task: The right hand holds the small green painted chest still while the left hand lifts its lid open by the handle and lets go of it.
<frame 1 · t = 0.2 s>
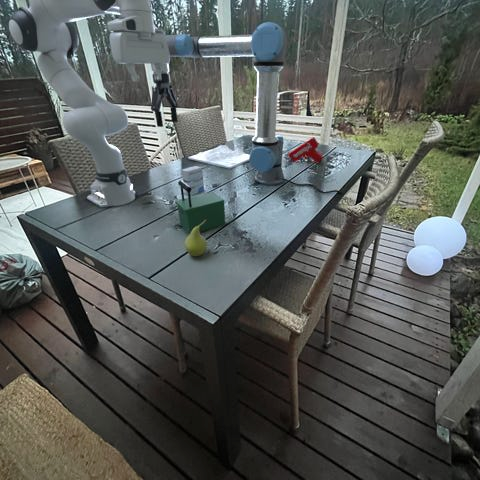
left hand: (147, 80, 86), 48 cm above the table, tool pointing down, fingers open, 8 cm apart
right hand: (167, 124, 132), 28 cm above the table, tool pointing down, fingers open, 13 cm apart
chest: (202, 224, 105), on the table
ink box: (194, 192, 132), on the table
relief map: (222, 158, 179), on the table
fruit: (197, 253, 89), on the table
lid: (198, 192, 98), point 13 cm above the table, hinge at 0.0°
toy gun: (304, 162, 171), on the table
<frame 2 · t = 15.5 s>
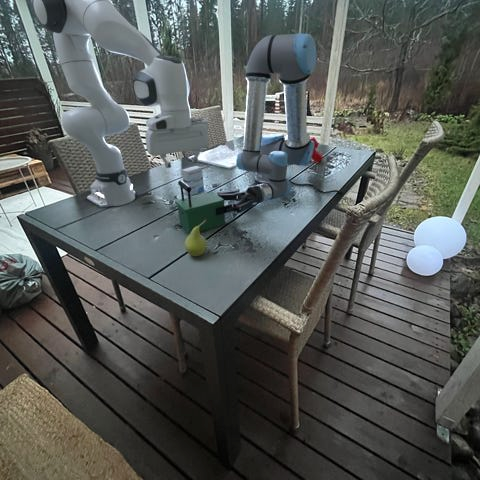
left hand: (182, 164, 90), 24 cm above the table, tool pointing down, fingers open, 8 cm apart
right hand: (210, 206, 103), 6 cm above the table, tool horizontal, fingers closed on chest, 9 cm apart
chest: (202, 224, 105), on the table, touching right hand
everything else where it was.
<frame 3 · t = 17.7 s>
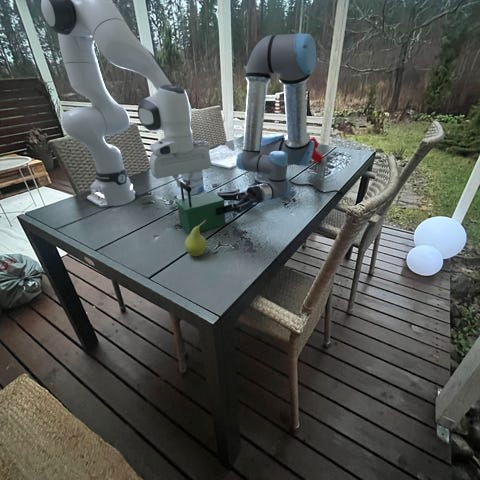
left hand: (184, 185, 94), 17 cm above the table, tool pointing down, fingers closed on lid, 2 cm apart
right hand: (210, 206, 103), 6 cm above the table, tool horizontal, fingers closed on chest, 9 cm apart
chest: (202, 224, 105), on the table, touching right hand
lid: (198, 192, 98), point 13 cm above the table, hinge at 0.0°, touching left hand
everything else where it was.
when the right hand's fingers open (6 cm above the table, at t = 24.9 s): chest stays where it is, on the table.
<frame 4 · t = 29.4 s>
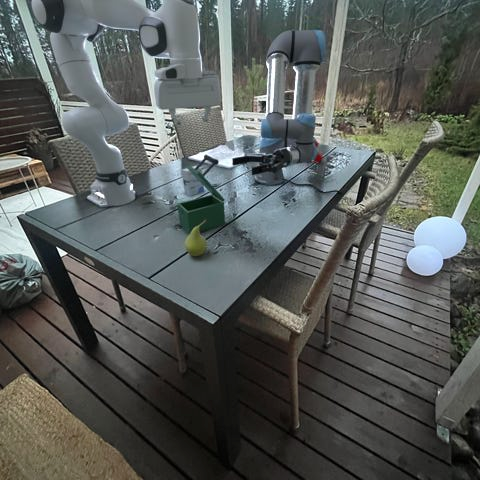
left hand: (191, 123, 85), 37 cm above the table, tool pointing down, fingers open, 8 cm apart
right hand: (242, 166, 103), 20 cm above the table, tool horizontal, fingers open, 13 cm apart
chest: (202, 224, 105), on the table
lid: (212, 176, 98), point 18 cm above the table, hinge at 53.4°
everything else where it was.
at the end: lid at +53° (first picture: +0°); the left hand is holding nothing; the right hand is holding nothing; chest tilted 0°; chest never tilted more than 1° during the clip; chest moved 0.1 cm from its start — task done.
